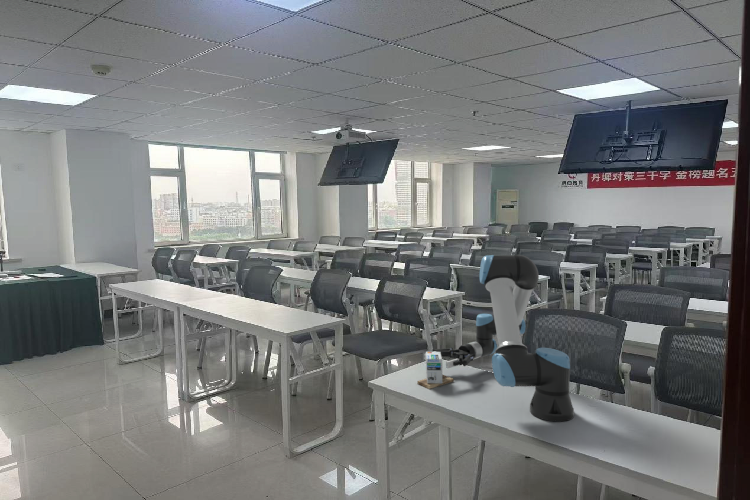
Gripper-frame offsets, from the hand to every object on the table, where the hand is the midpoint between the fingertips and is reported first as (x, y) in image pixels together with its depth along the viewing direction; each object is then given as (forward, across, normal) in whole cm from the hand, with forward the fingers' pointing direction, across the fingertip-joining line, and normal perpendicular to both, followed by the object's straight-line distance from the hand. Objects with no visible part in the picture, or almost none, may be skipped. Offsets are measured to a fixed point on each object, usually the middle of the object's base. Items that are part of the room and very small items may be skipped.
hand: (435, 361), depth 214 cm
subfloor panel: (+1, -1, -9) cm, 9 cm away
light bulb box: (+1, 0, -8) cm, 8 cm away
